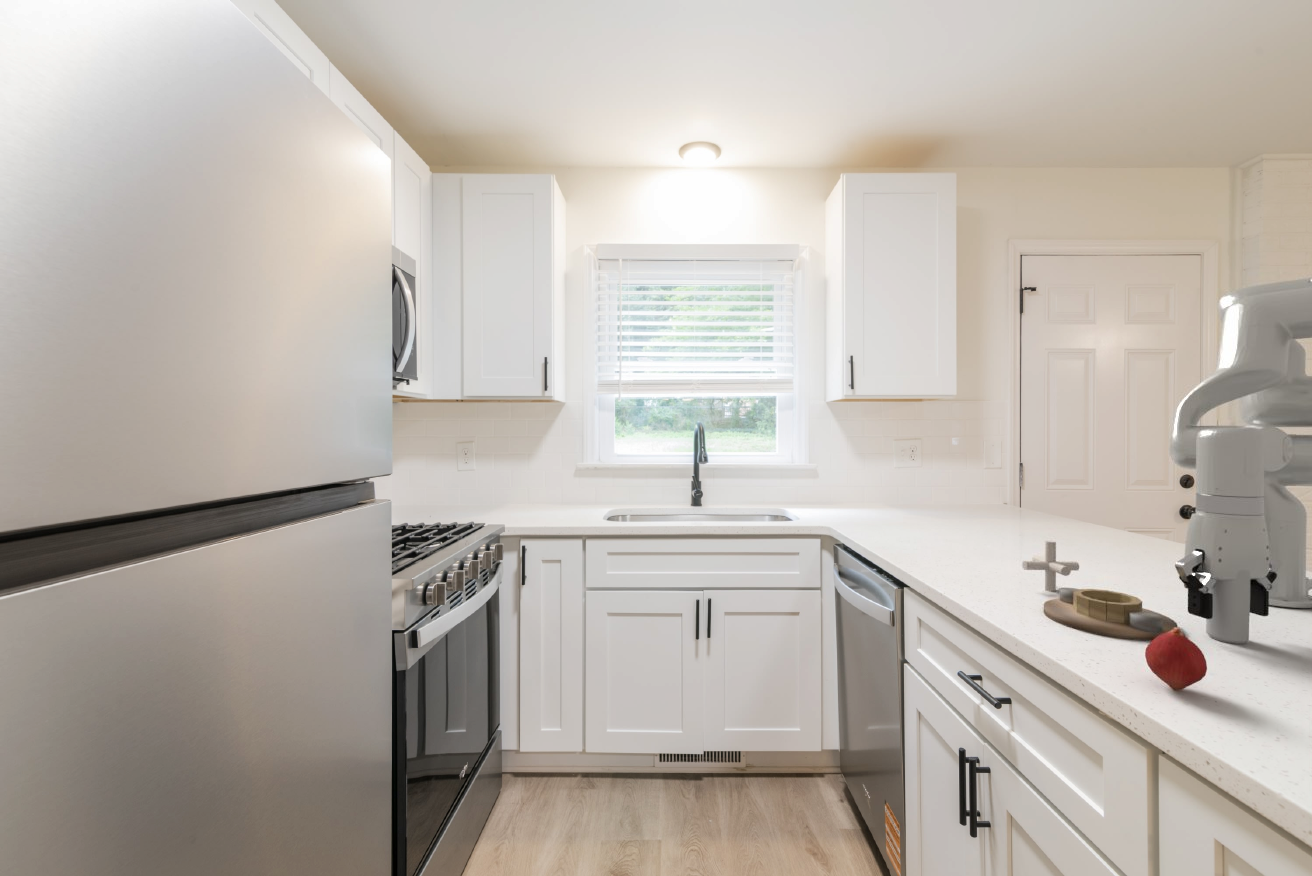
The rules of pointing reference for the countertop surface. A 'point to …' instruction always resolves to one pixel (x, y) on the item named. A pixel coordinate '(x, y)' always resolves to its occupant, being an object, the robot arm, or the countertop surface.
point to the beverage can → (1230, 610)
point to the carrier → (1107, 614)
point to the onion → (1176, 659)
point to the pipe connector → (1050, 565)
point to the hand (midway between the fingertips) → (1227, 614)
